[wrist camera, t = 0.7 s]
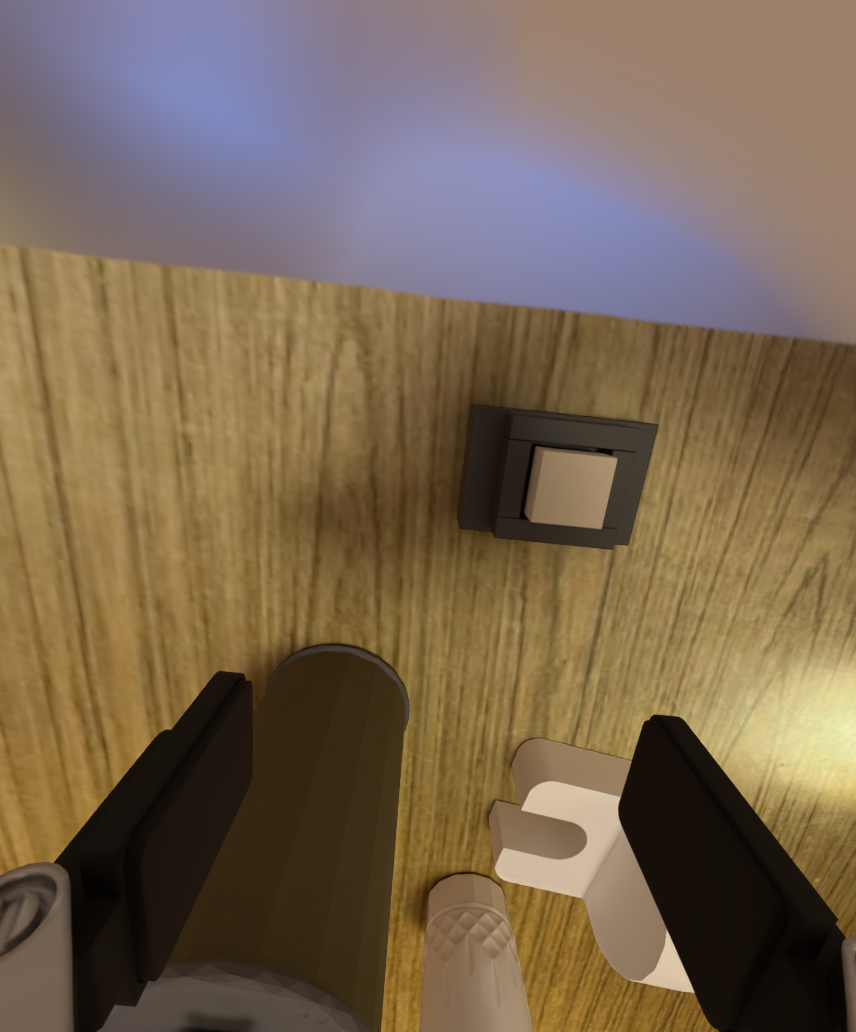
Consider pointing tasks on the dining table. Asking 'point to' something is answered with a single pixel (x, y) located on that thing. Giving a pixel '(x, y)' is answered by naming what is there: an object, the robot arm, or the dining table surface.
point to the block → (508, 461)
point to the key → (569, 487)
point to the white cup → (471, 961)
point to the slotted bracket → (584, 854)
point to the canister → (297, 865)
